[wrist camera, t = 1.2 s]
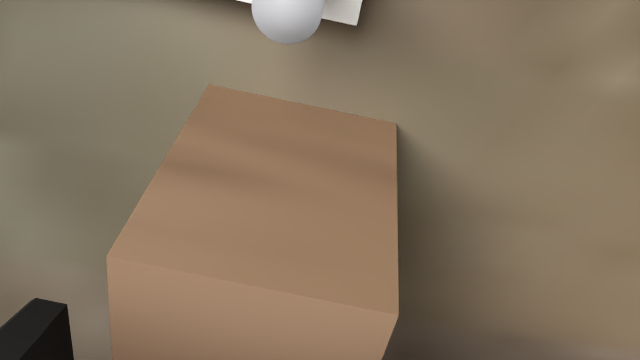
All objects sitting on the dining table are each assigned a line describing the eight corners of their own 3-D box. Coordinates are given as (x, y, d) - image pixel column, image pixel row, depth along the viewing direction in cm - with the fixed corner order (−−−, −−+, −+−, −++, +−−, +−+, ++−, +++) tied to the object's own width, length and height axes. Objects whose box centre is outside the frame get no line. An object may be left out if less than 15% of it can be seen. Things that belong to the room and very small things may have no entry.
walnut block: (338, 316, 18) (318, 523, 13) (194, 287, 18) (118, 484, 13) (395, 122, 14) (398, 315, 9) (209, 83, 14) (106, 256, 9)
